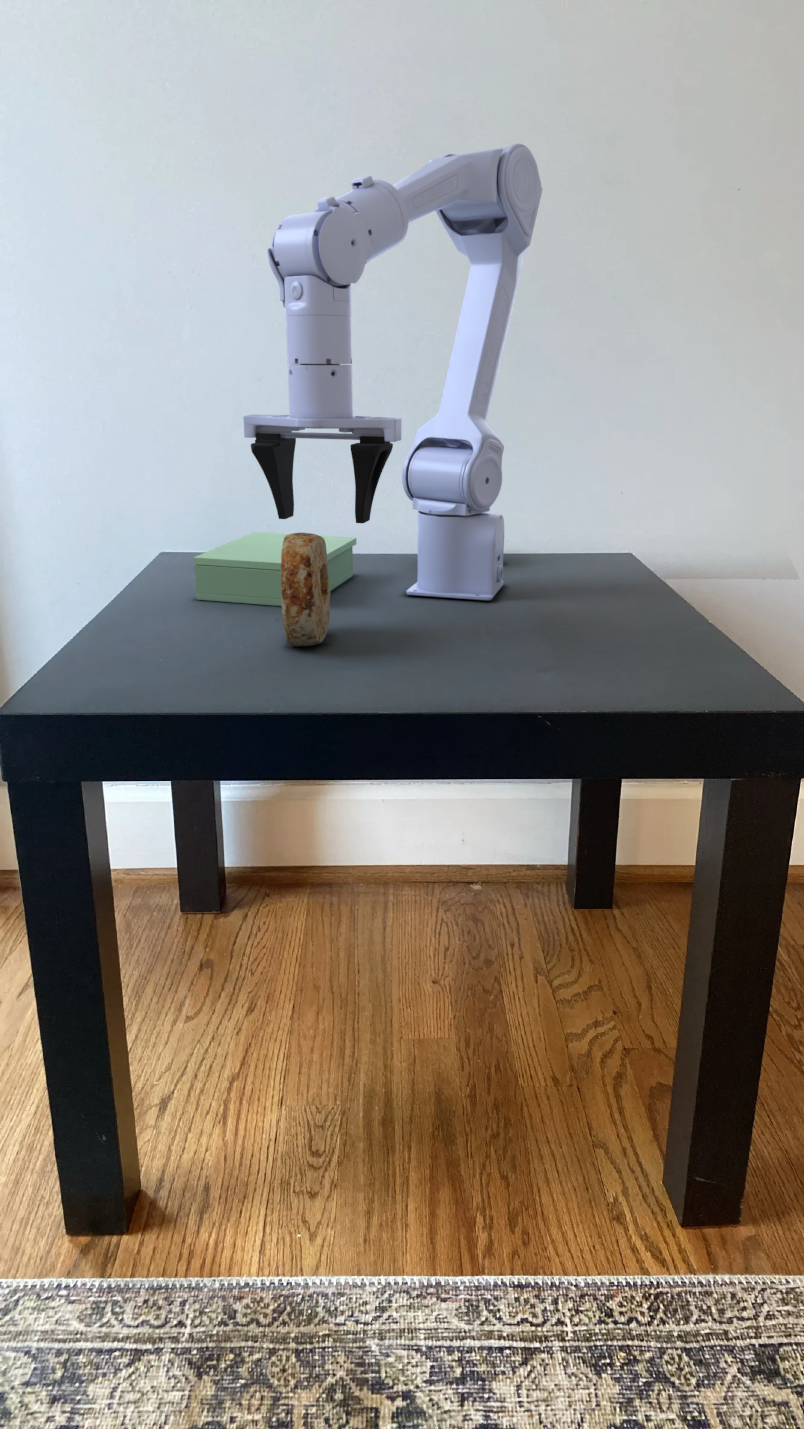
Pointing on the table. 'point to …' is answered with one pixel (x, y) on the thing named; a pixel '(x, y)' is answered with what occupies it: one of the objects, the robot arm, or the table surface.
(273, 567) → the lunchbox lid
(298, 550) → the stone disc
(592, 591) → the table surface
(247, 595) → the box
